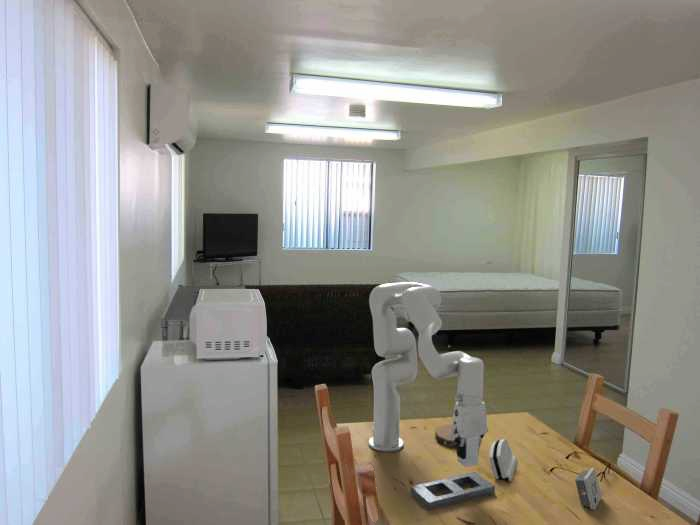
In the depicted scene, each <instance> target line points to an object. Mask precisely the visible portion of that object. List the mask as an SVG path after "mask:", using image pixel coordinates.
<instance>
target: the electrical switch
mask: <svg viewBox="0 0 700 525" xmlns="http://www.w3.org/2000/svg"><path fill="white" fill-rule="evenodd" d="M597 475H598V474H597V473H596V469H595V468H594V467H591V468H590V469H589V470H581V471H580V472H579V474H578V476H577V477H576V478H575V485H576V489H577V494H578V497H579V498H578V499H579V502H580V506H581V507H589V508H590V510H591V511H593V510H596V508H597V506H598V505H599V503H600V501H601V500H602V493H601V488H600V484H599V479H598V477H597Z"/></svg>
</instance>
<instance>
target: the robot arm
mask: <svg viewBox="0 0 700 525" xmlns="http://www.w3.org/2000/svg"><path fill="white" fill-rule="evenodd" d="M368 303H369V309H370V313H371V316H372V317H371V318H372V330H373V345H374V351H375V353H376V354H377V355H378V357H382V358H384V357H385V358H386V357H392V356H397V357H396V358H391V359H386V360H385V359H384V360H381V361H379V362H377V363H375V364H374V366H372V369H371V378H372V379H371V380H372V385H373V427H372V428H371V432H372V437H370V438H369V440H368V445H369V447H370V448H371V449H372V450H373V449H374V450H376V451H378V452H390V453H391V452H396V451H399V450H401V449H402V448H403V447H404V441H403V439H401V438H400V422H401V421H400V420H401V419H400V418H401V415H400V413H401V397H400V394H399V392H398V391H397V389H396V386H401V385H403V384H409V383H411V382H413V381H415V379H416V378H417V375H418V356H419V358H420V361H421V362H422V364H423V366H424V367H425V369H426V371H427V372H428V373H429V375H430V376H432V377H433V378H434V379H437V380H444V379H448V378H453V377H457V393H456V396H454V401H455V404H454V408H453V414H452V430H451V431H450V433H449V435H448V437H449V438H451V439H452V440H453V441H454V442H455V443H456V444H457V448H456V457H457V456H458V457H460V458H461V459H464V458H465V446H463V445H464V441H465V438H470V437H475V436H479V444H481V443H482V440H483V438H484V437H485V435H486V434H487V433H488V432H489V428H488V425H487V422H488V421H487V409H486V404H485V402H484V401H483V393H484V369H485V368H484V367H485V366H484V361H483V360H482V359H481V358H478V357H475V356H471V355H469V354H468V353H466V352H464V351H461V350H456V351H451V352H444V353H438V350H436V347H435V345H434V344H433V340H432V339H433V338H432V336H433V335H435V334H436V333H437V332H438V331H439V330H441V327H442V325H443V321H442V319H441V317H440V316H439V314H438V312H437V311H436V309H438V308H440V306H441V304H442V297H441V293H440V292H439V290H438V289H437V288H436V287H435V286H432V285H431V284H430V285H429V284H425V283H424V284H423V283H418V282H413V281H402V282H390V283H384V284H380V285H377V286H375V287H374V288H373V289H372V291H371V292H370V294H369V299H368ZM397 307H399V308H400V307H403V308H404V310H405V312H406V314H407V316H408V317H409V319H410V321H411V322H412V324H413V325H414V327H415V329H416V331H417V332H418V339H417V342H416V338H415V336H414V334H413V332H412V331H411V330H410V329H408V328H406V327H399V328H398V325H397V317H396V315H395V312H394V311H393V310H392V309H391V308H397ZM417 349H418V355H417ZM455 434H457V436H456V437H455ZM460 438H461V440H460ZM479 453H480V452H478V457H479V455H480V454H479Z"/></svg>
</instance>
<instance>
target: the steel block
mask: <svg viewBox="0 0 700 525" xmlns="http://www.w3.org/2000/svg"><path fill="white" fill-rule="evenodd" d="M460 440H461V438H460ZM463 446H465V458H464V459H461V458H460V457H458V456H457V455H456V457H457V458H456V460H457V462H458V463H459V464H461V465H462V466H464V467H465V468H467V467H468V468H469V467H472V466H473V467H474V466H476V465H479V456H478V452H479V451H480V443H479V436H475V437H470V438H465V441H464V445H463ZM479 453H480V452H479Z"/></svg>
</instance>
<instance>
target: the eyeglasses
mask: <svg viewBox="0 0 700 525" xmlns="http://www.w3.org/2000/svg"><path fill="white" fill-rule="evenodd" d="M573 454H582V455H583V454H584V455H586V456H589V457H591V458H594V459H597V460H599V461H601V462H604V463H607V465H606V467H605V468H604V470H603V471H600V472H599V473H597V474H596V475H597V478H598V477H599V476H600V480H599V482H600V483H602V481H603V479H605V478H606V471H607V473H608V474H609V473H610V470H611V466H612V462H611V461H610V462H609V461H607V460H604V459H601V458H598V457H596V456H594V455H590V454H589V453H585V452H579V451H576V452H572V453H569V454H568V455H566V457H565V458H566V459H565V460H569V458H570V456H572V455H573ZM555 469H561V470H565V471H568V472H571V473H574V474H577V475H579V474H580V472H575V471H572V470H569V469H567V468H566V469H565V468H563V467H558V466H556V467H555V466H554V467H552V468H551V469H550V470H549V472H550V473H552V472H553V471H555ZM607 469H608V470H607Z"/></svg>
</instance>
